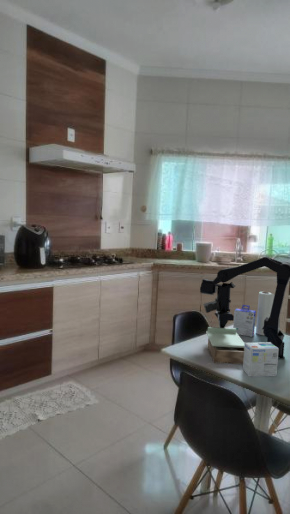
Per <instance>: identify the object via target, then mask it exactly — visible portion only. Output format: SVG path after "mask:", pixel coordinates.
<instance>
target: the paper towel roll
mask: <svg viewBox="0 0 290 514" xmlns="http://www.w3.org/2000/svg"><path fill="white" fill-rule="evenodd" d="M274 296H275V293H271V292H270V291H268V292H267V291H259V292H258V302H257V312H256V323H255V333H256V335H259V336H264V337H266V336H265V335H264V333H263V330H264V329H263V330H262V328H263V327H264V320H265V318H266V317H268V318H269V317H270V314H271V309H272V305H273V300H274Z"/></svg>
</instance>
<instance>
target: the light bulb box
mask: <svg viewBox="0 0 290 514" xmlns="http://www.w3.org/2000/svg"><path fill="white" fill-rule="evenodd" d="M244 343H245V345H244V361H243V364H242V370H243V371H244V372H245V374H246V375H248V376H249V377H252V378H253V377H277V373H278V372H277V371H278V360H279V358H278V351H279V348H278V347H276V346H275V345H273V344H272V343H271V342H267V341H266V342H265V341H263V342H261V341H260V342H244Z"/></svg>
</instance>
